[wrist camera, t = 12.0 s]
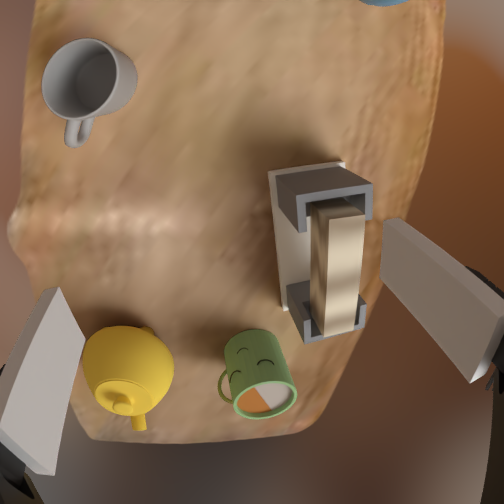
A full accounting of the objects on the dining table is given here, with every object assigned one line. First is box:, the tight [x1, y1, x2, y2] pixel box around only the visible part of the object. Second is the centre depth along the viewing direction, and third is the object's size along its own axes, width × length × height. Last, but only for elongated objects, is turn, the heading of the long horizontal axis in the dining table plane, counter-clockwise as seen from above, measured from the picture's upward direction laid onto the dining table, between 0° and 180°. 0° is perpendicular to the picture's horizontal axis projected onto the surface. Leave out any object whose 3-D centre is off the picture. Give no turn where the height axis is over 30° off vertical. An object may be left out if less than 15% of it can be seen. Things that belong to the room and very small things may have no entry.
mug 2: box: [218, 329, 297, 419], centre depth 52 cm, size 13×10×12 cm
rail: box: [310, 198, 365, 338], centre depth 41 cm, size 17×4×6 cm, turn 5°
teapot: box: [83, 326, 174, 430], centre depth 47 cm, size 20×16×14 cm
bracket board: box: [268, 161, 373, 344], centre depth 44 cm, size 23×11×10 cm, turn 7°
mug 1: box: [42, 38, 137, 148], centre depth 29 cm, size 12×8×11 cm
